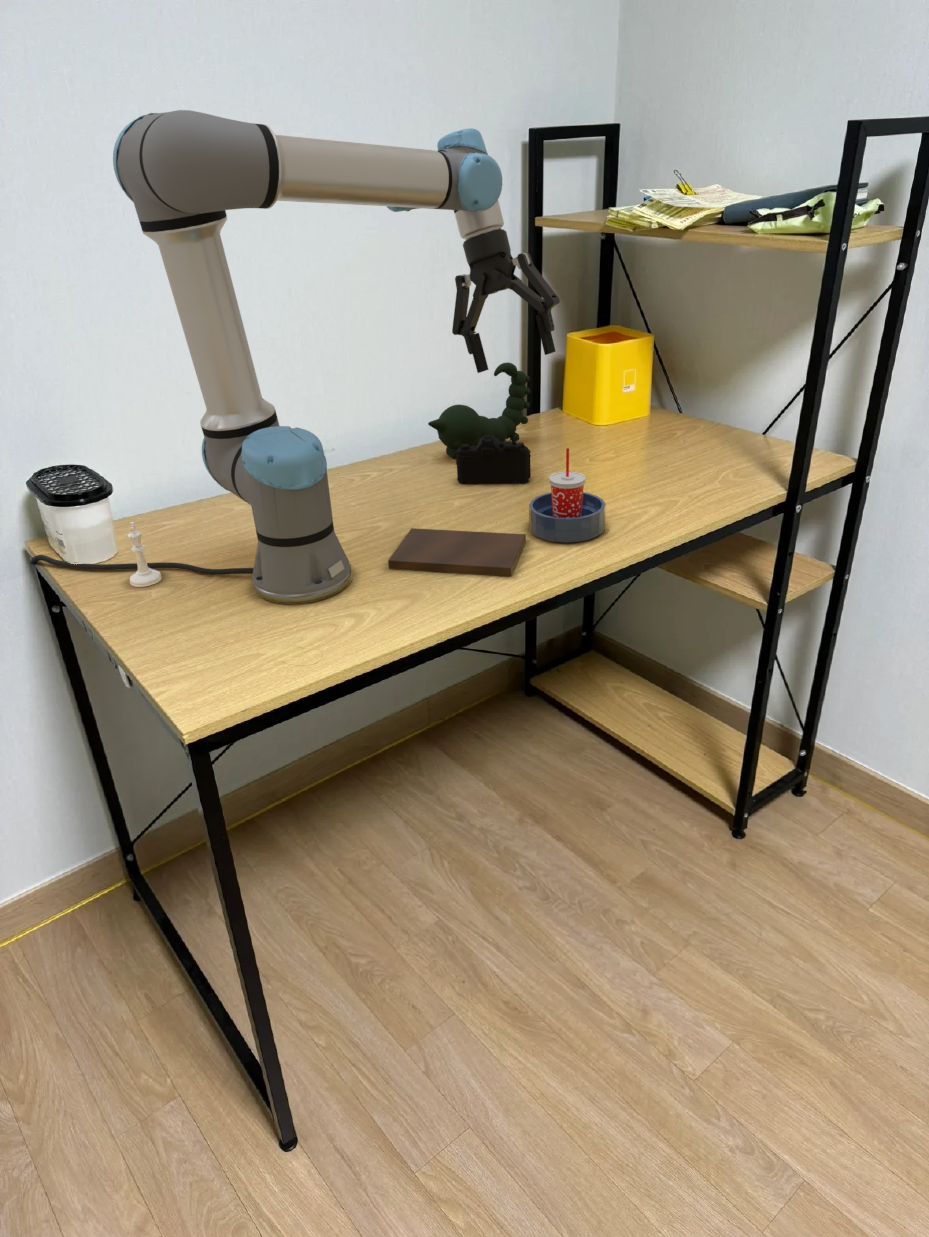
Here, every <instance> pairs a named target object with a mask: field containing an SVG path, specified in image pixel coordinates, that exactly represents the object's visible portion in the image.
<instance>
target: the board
mask: <svg viewBox="0 0 929 1237" xmlns="http://www.w3.org/2000/svg"><path fill="white" fill-rule="evenodd" d="M526 543H527V535H526V533H509V532H492V531H491V532H490V531H474V530H473V531H472V530H471V531H470V530H453V529H452V530H451V529H434V528H433V529H432V528H413V527H411V528H410V529H409V531H408V532H407V533H406V535H405V536H404V538H403V539H402V540H401V542H400V543H399V544H398V546H397V547H396V548H395V550H394V552H393V553H392V554H391V555H390V556H389V558H388V560H387V563H388V570H389V569H390V570H403V571H417V572H418V571H419V572H432V573H433V572H435V573H449V574H450V573H452V574H466V575H481V576H482V575H483V576H496V577H497V576H498V577H512V576H513V573H514V571H515V568H516V567H517V565H518V562H519V560H520V557H521V555H522V552H523V550H524V548H525V546H526Z"/></svg>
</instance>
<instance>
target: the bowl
mask: <svg viewBox="0 0 929 1237" xmlns="http://www.w3.org/2000/svg"><path fill="white" fill-rule="evenodd" d="M606 506H607V504H606V502H605V501H604V499H603V498H601V497H600V496H598V495H596V494H593V493H589V492H586V491H583V501H582V513H581V517H573V518H560V517H553V512H552V496H551V491H550V492H546V493H543V494H540V495H537V496H535V497H533V499H531V500H530V502H529V504H528V528H529V531H530V533H531V534H532V535H534V536H535V537H537V538H539V539H542V540H545V541H549V542H554V543H578V542H584V541H589V540H592V539H594V538H597V537H599V536H600V535H602V534H603V533H604V531H605V528H606V508H607V507H606Z"/></svg>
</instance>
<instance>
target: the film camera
mask: <svg viewBox="0 0 929 1237" xmlns="http://www.w3.org/2000/svg"><path fill="white" fill-rule="evenodd" d="M454 453H456V459H455V460H456V461H455V462H456V464H455V465H456V479H457V483H458V484H460V485H513V484H515V485H516V484H526V483H528V482H529V481H530V479H531V478H532V477H531V476H532V473H531V472H532V471H531V469H532V468H531V450H530V449H529V447H528V446H526V445H525V443H524V442H518V443H517V441H516V440H513V441H511V440H505V441H503V442H501V441H500V440H499V439H498V438H497V437H495V436H493V435H485V436H483V437H482V438H480V439H479V441H478V443H477V445H476V446H470V445H469V444H461V445H460V448H458V449H457V450H454Z"/></svg>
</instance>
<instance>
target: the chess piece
mask: <svg viewBox="0 0 929 1237" xmlns="http://www.w3.org/2000/svg"><path fill="white" fill-rule="evenodd" d="M129 524H130V531H131V532H130V533H128V535H127V537H128V539H129V540H130V542H131V544H132V545H133V546H131V548H130V551H131V552H134V553H135V557H136V563H137V565H138V569H136V572H135V573H133V574H131V576H130V577H129V584H130V585H131V586H133V587H136V588H144V587H145V588H146V587H149V586H153V585H155V584H158V583H159V582H160V581H161V580H162V579H163V576H162V574H161V573H162V572H160V571H159V570H157V569H153V568H152V569H151V568H149V567H148V565H147V563H148V562H147V561H146V558H145V556H144V553H143V551H145V549H146V546H145V545H144V544H142V532H140V531H137V530H136V526H135V524H134V521H130V522H129Z"/></svg>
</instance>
